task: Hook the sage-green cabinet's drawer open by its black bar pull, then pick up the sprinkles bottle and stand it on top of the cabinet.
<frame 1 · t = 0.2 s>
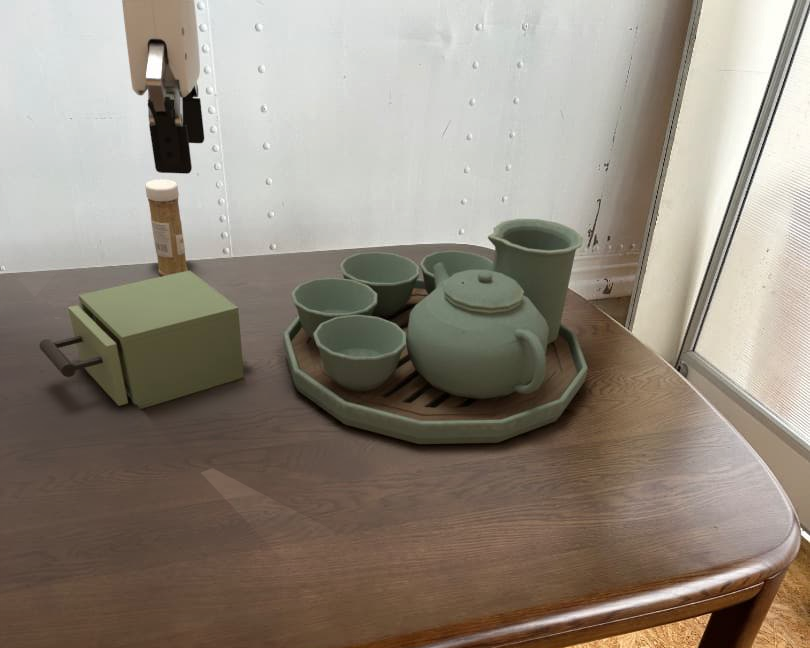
hand: (181, 156, 76), 29 cm above the table, tool pointing down, fingers open, 9 cm apart
cabinet: (169, 371, 101), on the table
tea set: (432, 367, 106), on the table
drawer: (128, 347, 95), point 5 cm above the table, slide at 0.5 cm
sprinkles bottle: (173, 274, 123), on the table
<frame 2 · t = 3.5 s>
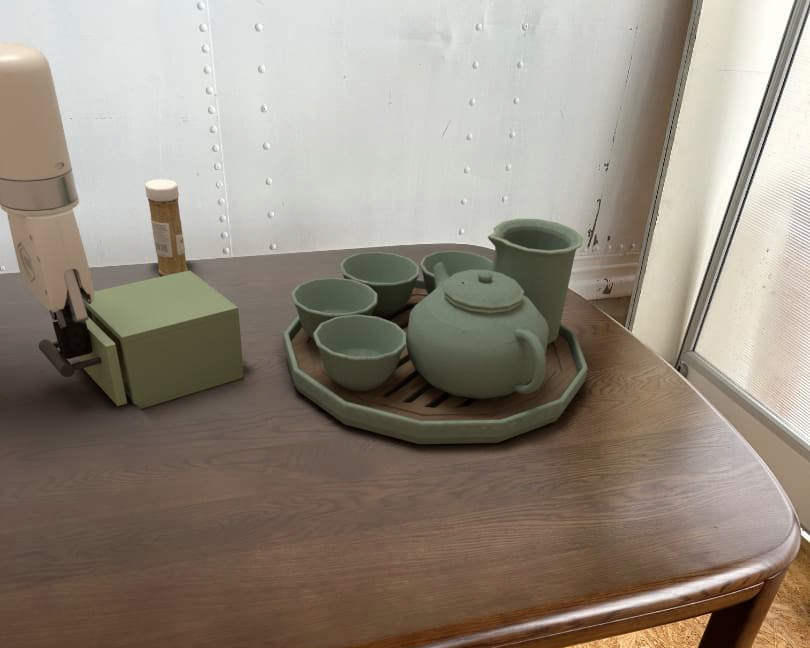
hand: (76, 353, 91), 6 cm above the table, tool pointing down, fingers closed
drawer: (127, 347, 95), point 5 cm above the table, slide at 0.6 cm, touching gripper
everything else where it was.
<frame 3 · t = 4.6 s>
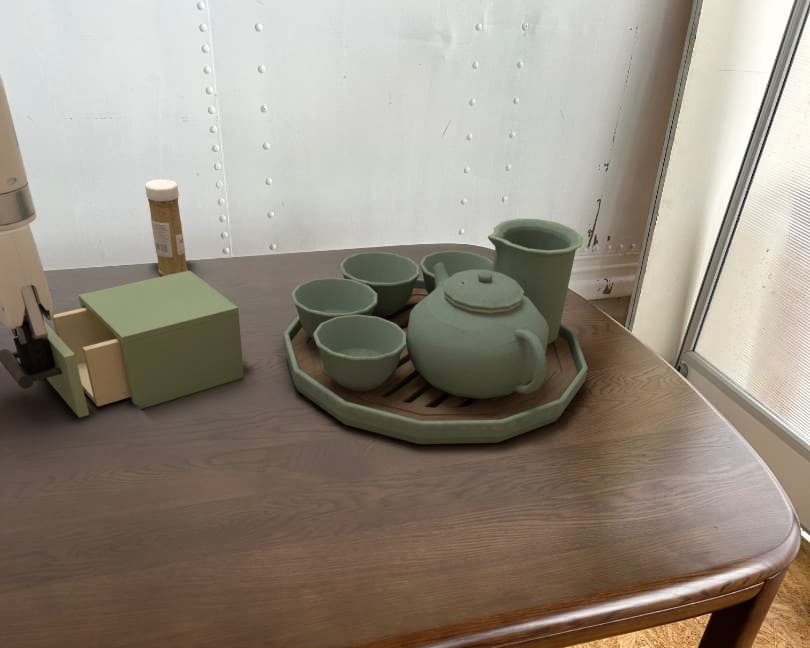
hand: (39, 369, 90), 5 cm above the table, tool pointing down, fingers closed
drawer: (90, 357, 93), point 5 cm above the table, slide at 5.2 cm, touching gripper
everything else where it was.
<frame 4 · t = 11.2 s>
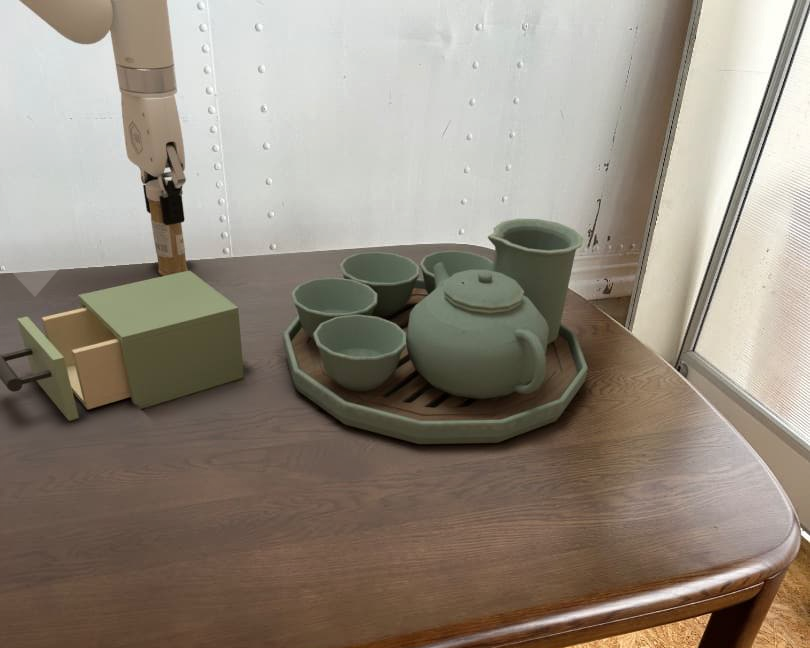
hand: (165, 215, 117), 9 cm above the table, tool pointing down, fingers closed on sprinkles bottle, 4 cm apart
drawer: (80, 359, 92), point 5 cm above the table, slide at 6.4 cm
sprinkles bottle: (173, 274, 123), on the table, touching gripper
everything else where it was.
when the fingers open (18 cm above the table, at t = 17.4 s): sprinkles bottle stays where it is, resting on cabinet.
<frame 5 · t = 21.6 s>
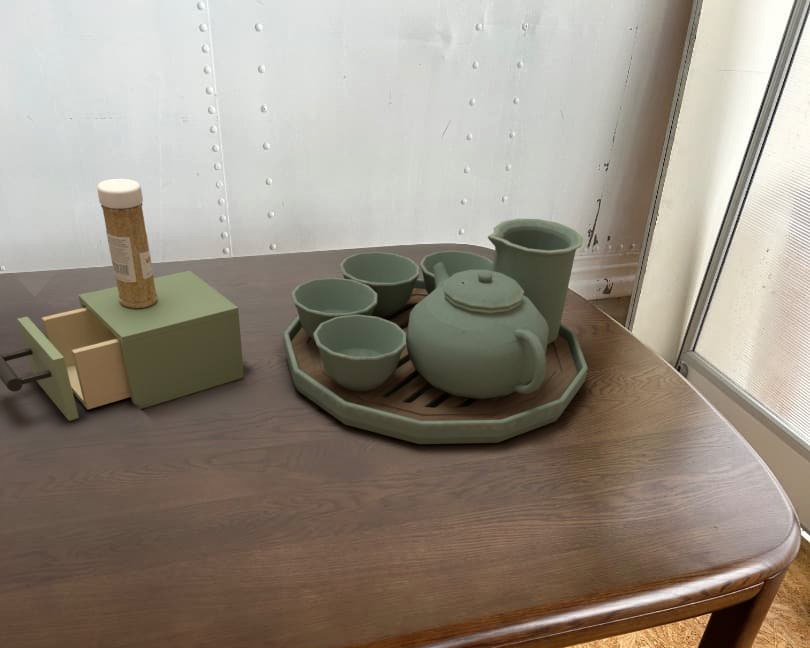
sprinkles bottle: (138, 302, 94), point 9 cm above the table, touching cabinet
everything else where it was.
at the end: drawer slide at 6.4 cm; sprinkles bottle inside the target area on the cabinet (2.3 cm from its centre), point 9.4 cm above the cabinet's base; sprinkles bottle tilted 0° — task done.
